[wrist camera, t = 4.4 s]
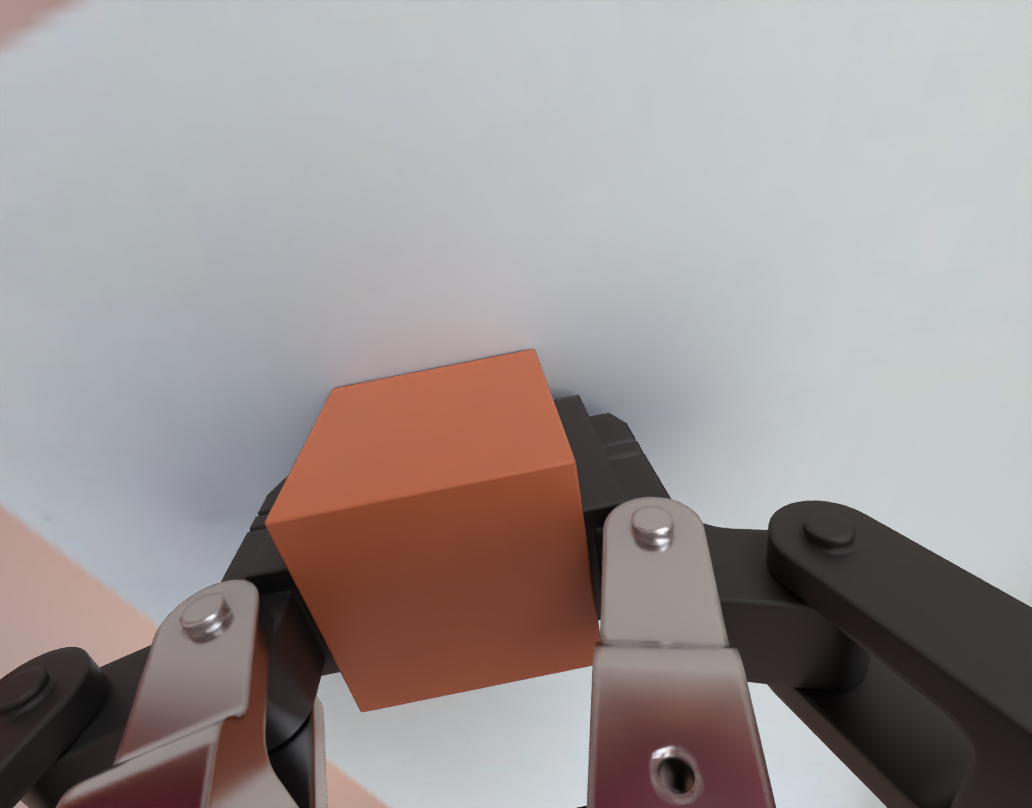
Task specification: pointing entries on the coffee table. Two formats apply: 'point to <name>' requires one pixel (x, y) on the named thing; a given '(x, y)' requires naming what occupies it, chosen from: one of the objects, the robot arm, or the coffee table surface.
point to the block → (441, 532)
